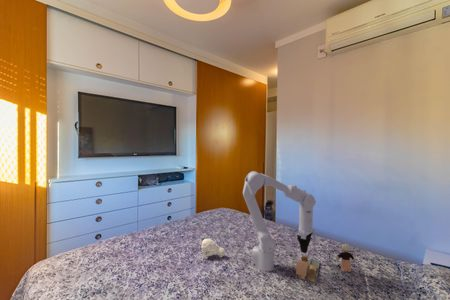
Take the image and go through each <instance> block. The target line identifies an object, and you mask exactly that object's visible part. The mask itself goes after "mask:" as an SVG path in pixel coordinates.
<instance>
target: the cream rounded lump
mask: <svg viewBox="0 0 450 300" xmlns="http://www.w3.org/2000/svg"><path fill="white" fill-rule="evenodd" d="M201 253H202V255H203V257H204V259H206V260H207V259H208V257H211V256H215V255H217V256H219V258H220V259H221V258H223V257H224V256H225V255H226V249H225V248H223V247H221V246H219V245H218V243H216V242H215V241H214V240H213V239H211V238H204V239H203V240H202V242H201Z"/></svg>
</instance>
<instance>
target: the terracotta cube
mask: <svg viewBox="0 0 450 300" xmlns="http://www.w3.org/2000/svg"><path fill="white" fill-rule="evenodd" d="M295 266H296V270H295V275H296V274H299V275H302V276H307V272H308V262H304V261H301V259H298V260H297V262H296V265H295Z"/></svg>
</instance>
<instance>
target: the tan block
mask: <svg viewBox="0 0 450 300" xmlns="http://www.w3.org/2000/svg"><path fill="white" fill-rule="evenodd" d="M316 271H317V266H316V265H312V264H310V268H308V276H307V280H308V281H307V282H309V281H312V282H311V283H313V282H315V277H316Z"/></svg>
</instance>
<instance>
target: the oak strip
mask: <svg viewBox="0 0 450 300" xmlns="http://www.w3.org/2000/svg"><path fill="white" fill-rule="evenodd" d="M301 259H302V261H304V262H308V260H309V257H308V256H305V255H302V256H301ZM298 278H301V279H300V280H302V279H305V276H302V275H299V274H298ZM298 278H297V279H298Z"/></svg>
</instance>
